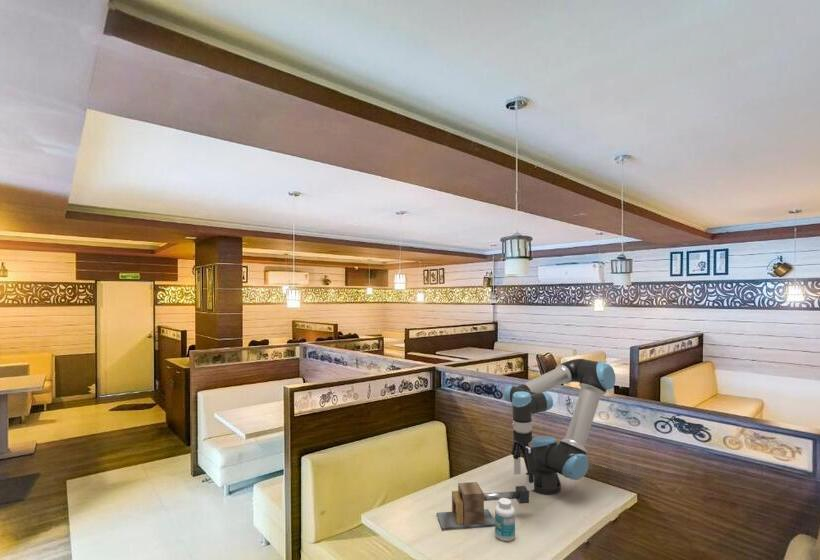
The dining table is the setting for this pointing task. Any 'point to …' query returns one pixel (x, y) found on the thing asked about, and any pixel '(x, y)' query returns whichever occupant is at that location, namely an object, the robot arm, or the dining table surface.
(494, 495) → the shaft
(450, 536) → the dining table surface
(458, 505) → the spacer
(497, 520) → the pill bottle
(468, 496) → the bearing block
